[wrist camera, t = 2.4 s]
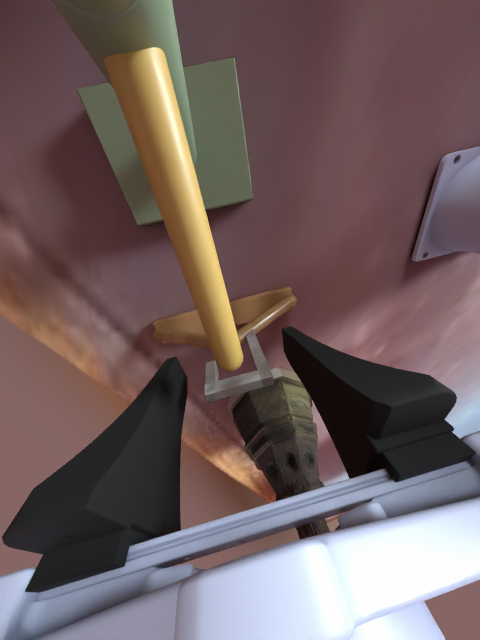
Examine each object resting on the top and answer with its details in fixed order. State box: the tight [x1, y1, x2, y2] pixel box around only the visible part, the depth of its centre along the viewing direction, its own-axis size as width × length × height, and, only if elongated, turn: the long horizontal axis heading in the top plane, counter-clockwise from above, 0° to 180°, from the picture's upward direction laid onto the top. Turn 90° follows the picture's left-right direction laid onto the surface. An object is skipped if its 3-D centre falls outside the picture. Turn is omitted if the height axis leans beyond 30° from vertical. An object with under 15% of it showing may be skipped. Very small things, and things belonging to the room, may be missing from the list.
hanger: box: [153, 286, 297, 402], centre depth 13 cm, size 14×2×9 cm, turn 102°
